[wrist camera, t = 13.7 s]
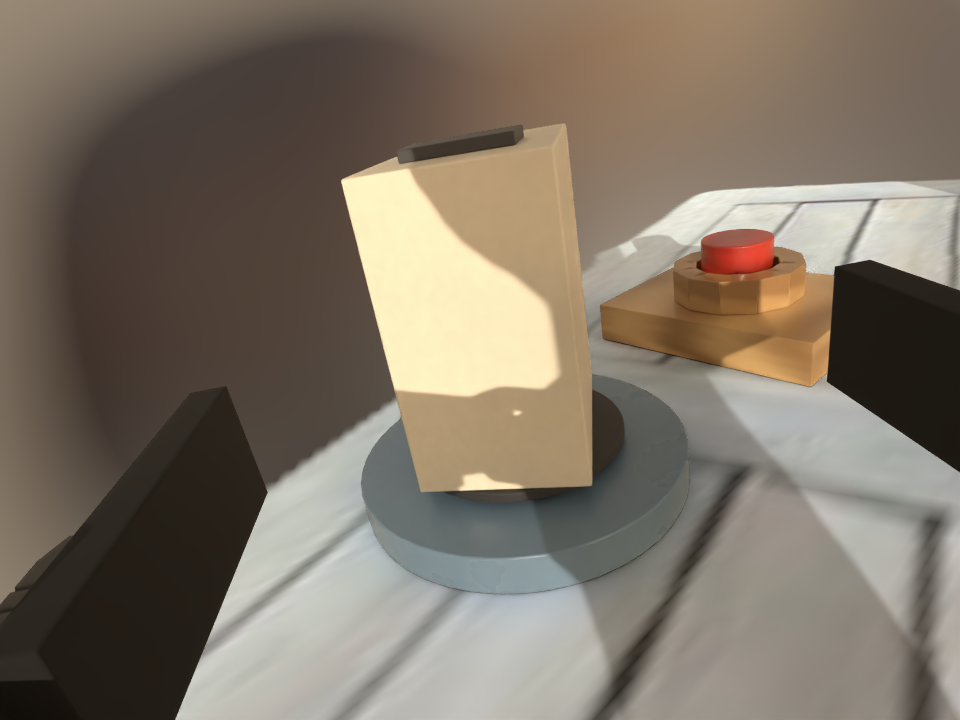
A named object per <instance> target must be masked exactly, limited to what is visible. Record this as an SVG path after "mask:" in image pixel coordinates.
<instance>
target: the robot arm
mask: <svg viewBox="0 0 960 720" xmlns="http://www.w3.org/2000/svg"><path fill="white" fill-rule="evenodd" d="M827 382H828V383H830V384H831V385H833V386H834V387H835V388H837V389H838V390H840V391H841V392H843V393H844V394H846V395H847V396H849V397H850V398H852V399H853V400H855V401H856V402H857V403H859V404H860V405H862V406H863V407H865V408H866V409H868V410H869V411H871V412H872V413H874V414H875V415H877V416H878V417H879V418H881V419H882V420H884V421H885V422H887V423H888V424H890V425H891V426H893V427H894V428H896V429H897V430H899V431H900V432H902V433H903V434H904V435H906V436H907V437H909V438H910V439H912V440H913V441H915V442H916V443H918V444H919V445H921V446H922V447H924V448H925V449H926V450H928V451H929V452H931V453H932V454H934V455H935V456H937V457H938V458H940V459H941V460H943V461H944V462H946V463H947V464H948V465H950V466H951V467H953V468H954V469H956V470H957V471H959V472H960V290H957V289H954V288H951V287H948V286H945V285H942V284H939V283H936V282H933V281H930V280H927V279H924V278H922V277H919V276H916V275H913V274H910V273H907V272H904V271H901V270H898V269H895V268H892V267H889V266H886V265H884V264H881V263H878V262H875V261H872V260H867V261H862V262H857V263H851V264H846V265H841V266H836V267H835V272H834V286H833V301H832V315H831V330H830V344H829V358H828V373H827ZM267 493H268V492H267V490H266V487H265V484H264V482H263V479H262V477H261V474H260V472H259V469H258V467H257V464H256V461H255V459H254V456H253V454H252V451H251V449H250V446H249V443H248V441H247V439H246V436H245V433H244V431H243V428H242V426H241V423H240V420H239V418H238V415H237V413H236V410H235V408H234V405H233V403H232V400H231V397H230V395H229V392H228V390H227V387H226V386H225V387H219V388H214V389H209V390H204V391H200V392H194V393H190V394H189V395H188V397H187V398H186V399H185V400H184V401H183V403H182V404H181V405H180V406H179V408H178V409H177V410H176V411H175V412H174V414H173V415H172V416H171V418H169V420H168V421H167V422H166V423H165V425H164V426H163V427H162V428H161V430H160V431H159V432H158V433H157V434H156V436H155V437H154V438H153V439H152V440H151V442H150V443H149V444H148V445H147V447H146V448H145V449H144V450H143V451H142V453H141V454H140V455H139V456H138V458H137V459H136V460H135V461H134V462H133V464H132V465H131V466H130V467H129V468H128V470H127V471H126V472H125V473H124V475H123V476H122V477H121V478H120V479H119V481H118V482H117V483H116V484H115V486H114V487H113V488H112V490H110V492H109V493H108V494H107V496H106V497H105V498H104V499H103V500H102V501H101V503H100V504H99V505H98V506H97V508H96V509H95V510H94V511H93V512H92V514H91V515H90V516H89V517H88V519H87V520H86V521H85V522H84V523H83V525H82V526H81V527H80V528H79V530H78V531H77V532H76V533H75V534H74V536H69V537H68V538H66V539H65V540H64V541H62V542H61V543H60V544H59V545H57V546H56V547H55V548H54V549H52V550H51V551H50V552H49V553H47V554H46V555H45V556H44V557H42V558H41V559H40V560H38V561H37V562H36V563H35V565H34V566H33V567H32V568H31V569H30V570H29V572H28V573H27V574H26V575H25V576H24V577H23V579H22V580H21V581H20V582H19V583H18V584H17V586H16V587H15V592H13V593H10V594H9V595H8V596H7V598H5V600H4V601H3V602H2V603H1V604H0V720H175V718H176V716H177V714H178V711H179V709H180V706H181V704H182V701H183V699H184V696H185V694H186V691H187V689H188V687H189V684H190V682H191V679H192V677H193V674H194V672H195V669H196V667H197V664H198V662H199V660H200V657H201V655H202V652H203V650H204V647H205V645H206V642H207V640H208V637H209V635H210V633H211V630H212V628H213V625H214V623H215V620H216V618H217V615H218V613H219V610H220V608H221V606H222V603H223V601H224V598H225V596H226V593H227V591H228V588H229V586H230V583H231V581H232V579H233V576H234V574H235V571H236V569H237V566H238V564H239V561H240V559H241V556H242V554H243V552H244V549H245V547H246V544H247V542H248V539H249V537H250V534H251V532H252V530H253V527H254V525H255V522H256V520H257V517H258V515H259V512H260V510H261V507H262V505H263V503H264V500H265V498H266V495H267Z"/></svg>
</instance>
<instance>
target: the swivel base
mask: <svg viewBox="0 0 960 720" xmlns="http://www.w3.org/2000/svg"><path fill="white" fill-rule="evenodd" d="M592 389H593V390H595V391H597V392H599V393H601V394H603V395H604V396H606V397H608V398H609V399H610V400H611V401H612V402H613V403H614V404H615V405H616V406H617V407H618V409H619V410H620V412H621V414H622V416H623V421H624V429H625V433H624V441H623V444H622V447H621V449H620V451H619V453H618V455H617V456H616V457H615V458H614V460H613V461H612V462H611V463H610V464H609V465H608V466H607V467H606V468H605V469H604V470H603V471H601V472H600V473H599V474H597V475H596V476H594V477H593V478H592V486H584V487H574V488H572V489H569V490H567V491H564V492H561V493H558V494H555V495H552V496H548V497H544V498H540V499H535V500H529V501H522V502H510V503H487V502H477V501H471V500H466V499H461V498H458V497H455V496H452V495H449V494H447V493H445V492H443V491H440V492H421V491H420V488H419V484H418V480H417V476H416V472H415V468H414V464H413V460H412V456H411V452H410V449H409V445H408V441H407V437H406V433H405V429H404V425H403V421H402V418H401V419H400V420H399V421H398V422H396V423H395V424H394V425H393V426H392V427H390V429H389V430H388V431H387V432H386V433H385V434H384V435H383V436H382V437H381V438H380V439H379V440H378V442H377V443H376V444H375V446H374V447H373V449H372V450H371V452H370V454H369V456H368V458H367V460H366V463H365V466H364V469H363V473H362V481H361V487H362V496H363V499H364V503H365V506H366V509H367V513H368V516H369V519H370V522H371V525H372V528H373V531H374V534H375V536H376V538H377V540H378V541H379V543H380V544H381V546H382V547H383V549H384V550H385V551H386V552H387V553H388V554H389V555H390V556H391V557H392V558H393V559H394V560H395V561H396V562H398V563H399V564H400V565H402V566H403V567H404V568H406V569H407V570H409V571H410V572H412V573H414V574H416V575H418V576H420V577H422V578H424V579H426V580H429V581H432V582H434V583H437V584H440V585H443V586H446V587H450V588H455V589H460V590H465V591H469V592H479V593H490V594H522V593H531V592H540V591H548V590H553V589H557V588H562V587H567V586H571V585H575V584H578V583H581V582H584V581H587V580H590V579H593V578H597V577H599V576H602V575H604V574H606V573H608V572H610V571H613V570H615V569H617V568H619V567H621V566H623V565H625V564H626V563H628V562H630V561H631V560H633V559H635V558H636V557H638V556H640V555H641V554H643V553H644V552H645V551H646V550H648V549H649V548H650V547H651V546H653V545H654V544H655V543H656V542H658V541H659V540H660V539H661V537H662V536H663V535H664V534H665V533H666V532H667V531H668V530H669V529H670V528H671V527H672V525H673V524H674V522H675V520H676V519H677V517H678V516H679V514H680V513H681V511H682V509H683V506H684V504H685V501H686V499H687V496H688V490H689V484H690V476H689V448H688V438H687V435H686V432H685V429H684V427H683V425H682V423H681V422H680V420H679V418H678V417H677V415H676V414H675V413H674V412H673V411H672V410H671V409H670V407H669V406H667V405H666V404H665V403H664V402H662V401H661V400H660V399H659V398H657V397H655V396H654V395H652V394H650V393H649V392H647V391H645V390H643V389H641V388H639V387H636V386H634V385H632V384H629V383H626V382H623V381H620V380H616V379H612V378H608V377H604V376H598V375H592Z"/></svg>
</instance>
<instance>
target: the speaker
mask: <svg viewBox="0 0 960 720" xmlns="http://www.w3.org/2000/svg"><path fill="white" fill-rule="evenodd" d="M396 153H397V157H395V158H392V159H390V160H388V161H385V162H383V163H380V164H378V165H375V166H373V167H371V168H368V169H366V170H364V171H361V172H359V173H356V174H354V175H351V176H349V177H347V178H344V179H342V181H341V183H342V187H343V190H344V194H345V199H346V202H347V206H348V210H349V214H350V218H351V222H352V226H353V229H354V233H355V238H356V241H357V245H358V249H359V253H360V257H361V261H362V264H363V269H364V272H365V277H366V281H367V284H368V288H369V292H370V296H371V300H372V304H373V308H374V312H375V316H376V320H377V324H378V327H379V331H380V335H381V339H382V343H383V347H384V351H385V354H386V359H387V362H388V367H389V370H390V374H391V378H392V382H393V386H394V390H395V394H396V398H397V402H398V406H399V409H400V413H401V417H402V421H403V425H404V429H405V433H406V437H407V441H408V445H409V449H410V452H411V456H412V460H413V464H414V468H415V472H416V476H417V480H418V484H419V488H420V491H421V492H440V491H443V492H445V493H447V494H449V495H452V496H455V497H458V498H461V499H466V500H471V501H477V502H487V503H510V502H522V501H529V500H535V499H540V498H544V497H548V496H552V495H555V494H558V493H561V492H564V491H567V490H569V489H572V488H574V487H584V486H592V478H593V477H594V476H596V475H597V474H599V473H600V472H601V471H603V470H604V469H605V468H606V467H607V466H608V465H609V464H610V463H611V462H612V461H613V460H614V458H615V457H616V456H617V455H618V453H619V451H620V449H621V447H622V444H623V441H624V433H625V429H624V421H623V416H622V414H621V412H620V410H619V409H618V407H617V406H616V405H615V404H614V403H613V402H612V401H611V400H610V399H609V398H608V397H606V396H604V395H603V394H601V393H599V392H597V391H595V390H593V389H592V371H591V362H590V352H589V342H588V333H587V323H586V313H585V304H584V294H583V284H582V275H581V265H580V256H579V246H578V237H577V226H576V217H575V207H574V198H573V188H572V178H571V168H570V159H569V149H568V139H567V130H566V125H565V124H564V123H563V124H557V125H552V126H546V127H540V128H534V129H528V130H523V126H522V125H517V126H511V127H505V128H499V129H493V130H487V131H482V132H476V133H470V134H465V135H459V136H453V137H447V138H441V139H435V140H430V141H424V142H418V143H415V144H413V145H410V146H407V147H405V148H402V149H399V150H397V151H396Z"/></svg>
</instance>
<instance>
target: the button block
mask: <svg viewBox="0 0 960 720" xmlns="http://www.w3.org/2000/svg"><path fill="white" fill-rule="evenodd" d="M833 286H834V275H825V274H815V273H806V262H805V260H804V258H803V255H802V253H799V252H796V251H793V250H789V249H786V248H783V247H774V260H773V267H772V268H771V269H768V270H764V271H759V272H755V273H749V274H731V275H722V274H713V273H706V272H703V271H702V270H701V251H700V252H695V253H692V254H690V255H688V256H686V257H684V258H682V259H680V260H678V261H676V262H675V264H674V267H673V268H671V269H669V270H667V271H665V272H663V273H661V274H659V275H658V276H656V277H654V278H652V279H650V280H648V281H646V282H644V283H642V284H640V285H638V286H636V287H634V288H632V289H630V290H628V291H626V292H624V293H622V294H620V295H618V296H616V297H615V298H613V299H611V300H609V301H607V302H605V303H603V304H601V305H600V312H601V323H602V333H603V339H607V340H611V341H616V342H620V343H624V344H629V345H633V346H637V347H641V348H646V349H650V350H654V351H659V352H663V353H667V354H672V355H676V356H680V357H685V358H689V359H693V360H698V361H702V362H706V363H710V364H715V365H719V366H723V367H728V368H732V369H736V370H741V371H745V372H749V373H754V374H758V375H762V376H767V377H771V378H775V379H780V380H784V381H788V382H792V383H797V384H801V385H805V386H810V387H811V386H813V385H814V384H815V383H816V382H817V381H818V380H819V379H820V378H821V377H823V376H824V375H825V374H826V373H827V372H828V358H829V344H830V330H831V315H832V301H833Z"/></svg>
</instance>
